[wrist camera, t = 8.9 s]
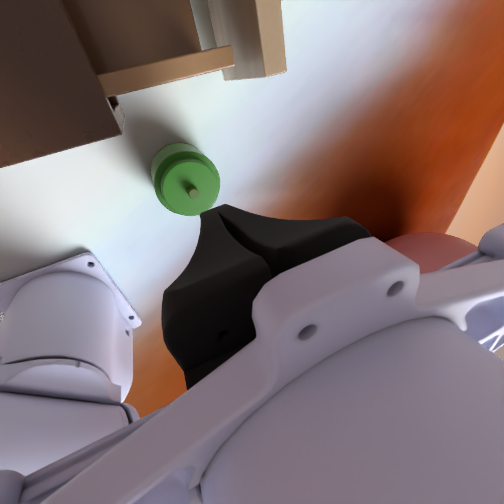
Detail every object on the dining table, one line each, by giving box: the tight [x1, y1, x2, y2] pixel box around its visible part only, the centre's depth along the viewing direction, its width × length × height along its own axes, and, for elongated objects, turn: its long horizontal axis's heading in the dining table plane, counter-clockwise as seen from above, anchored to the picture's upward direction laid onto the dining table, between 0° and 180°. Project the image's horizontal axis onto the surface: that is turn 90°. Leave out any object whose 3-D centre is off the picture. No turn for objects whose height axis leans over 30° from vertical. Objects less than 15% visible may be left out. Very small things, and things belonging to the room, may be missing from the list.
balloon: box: [385, 232, 478, 274], centre depth 32 cm, size 15×20×15 cm
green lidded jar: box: [151, 143, 220, 216], centre depth 18 cm, size 5×5×5 cm
